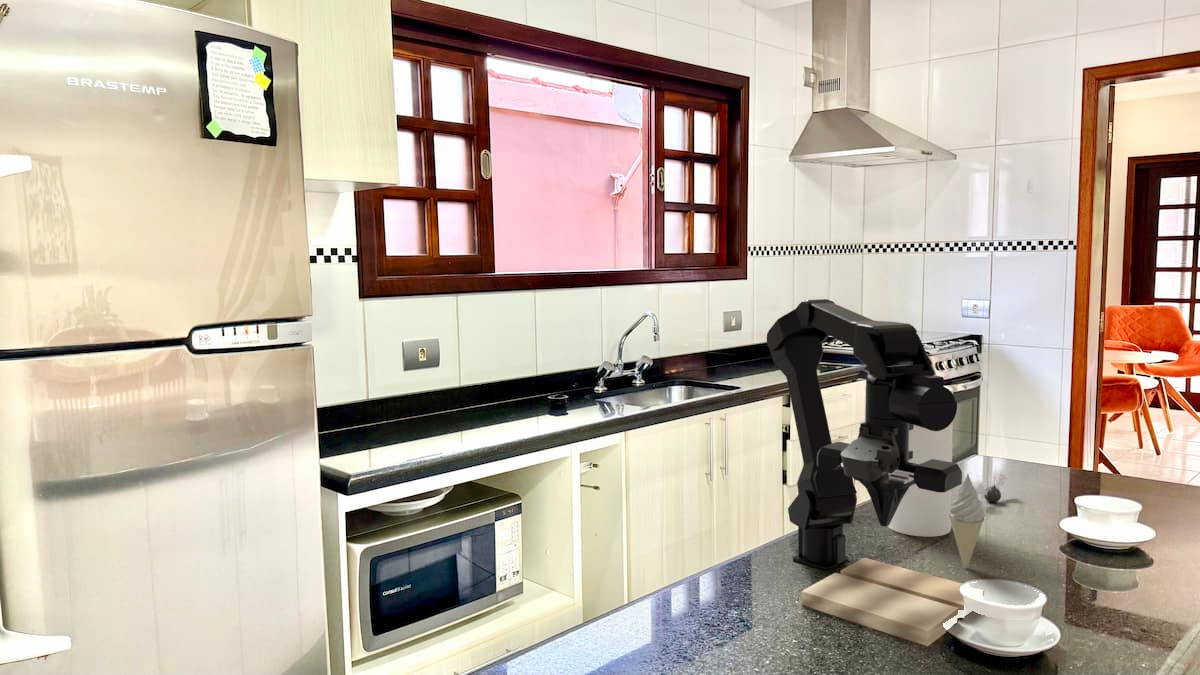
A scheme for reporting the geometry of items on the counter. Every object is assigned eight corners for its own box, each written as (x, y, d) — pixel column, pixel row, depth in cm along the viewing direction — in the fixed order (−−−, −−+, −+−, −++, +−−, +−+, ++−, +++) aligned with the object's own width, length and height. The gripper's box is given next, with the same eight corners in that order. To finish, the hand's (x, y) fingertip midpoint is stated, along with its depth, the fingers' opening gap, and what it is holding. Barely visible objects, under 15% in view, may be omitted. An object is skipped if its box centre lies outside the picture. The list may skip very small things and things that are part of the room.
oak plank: (801, 605, 115) (801, 591, 115) (835, 585, 121) (835, 572, 121) (927, 646, 102) (928, 631, 102) (958, 622, 108) (958, 607, 108)
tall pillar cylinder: (964, 531, 143) (967, 389, 141) (916, 540, 139) (918, 394, 137) (920, 514, 153) (921, 381, 151) (873, 522, 149) (874, 386, 147)
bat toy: (965, 508, 156) (966, 484, 155) (1001, 493, 165) (1002, 470, 165) (981, 512, 153) (981, 487, 153) (1017, 496, 163) (1017, 472, 162)
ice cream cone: (968, 577, 123) (970, 479, 122) (940, 566, 128) (942, 471, 126) (991, 570, 125) (993, 474, 124) (962, 560, 130) (964, 467, 128)
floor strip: (838, 584, 122) (838, 571, 121) (863, 570, 127) (864, 557, 127) (961, 620, 109) (961, 606, 109) (984, 603, 114) (984, 589, 114)
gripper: (795, 415, 114) (794, 524, 116) (926, 436, 100) (923, 559, 102) (838, 403, 121) (836, 505, 123) (965, 421, 108) (961, 536, 110)
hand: (884, 525), depth 114 cm, fingers closed
